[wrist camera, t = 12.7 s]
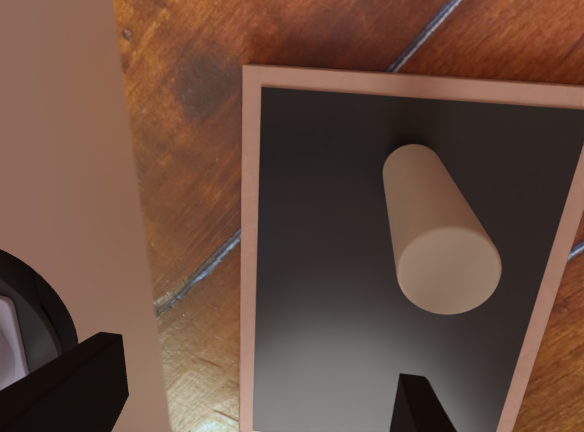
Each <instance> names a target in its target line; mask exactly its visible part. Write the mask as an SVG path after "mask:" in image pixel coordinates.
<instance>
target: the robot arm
mask: <svg viewBox="0 0 584 432" xmlns="http://www.w3.org/2000/svg"><path fill="white" fill-rule="evenodd" d="M128 396H129V392H128V384H127V375H126V365H125V357H124V348H123V340H122V335H121V334H113V333H106V332H99V333H97V334H95V335H93V336H92V337H90V338H88V339H86V340H85V341H83V342H81V343H80V344H78V345H76V346H75V347H73V348H71V349H70V350H68V351H66V352H65V353H63V354H61V355H60V356H58V357H57V358H55V359H53V360H52V361H50V362H48V363H47V364H45V365H43V366H42V367H40V368H38V369H37V370H35V371H33V372H32V373H30V374H29V370H28V366H27V361H26V356H25V352H24V347H23V342H22V338H21V333H20V329H19V324H18V319H17V315H16V310H15V305H14V303H13V301H12V300H11V299H10V298H9V297H6V296H1V295H0V432H111V431H112V429H113V427H114V425H115V423H116V421H117V419H118V417H119V415H120V413H121V411H122V409H123V407H124V404H125V402H126V400H127V398H128ZM389 432H457V431H456V429H455V427H454V426H453V424H452V422H451V420H450V419H449V417H448V415H447V413H446V412H445V410H444V408H443V406H442V405H441V403H440V401H439V399H438V397H437V395H436V394H435V392H434V390H433V388H432V386H431V384H430V382H429V380H428V379H427V378H426V377H425V376H419V375H411V374H404V373H400V374H399V380H398V386H397V391H396V397H395V402H394V408H393V414H392V419H391V425H390V431H389Z"/></svg>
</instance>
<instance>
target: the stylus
mask: <svg viewBox="0 0 584 432" xmlns="http://www.w3.org/2000/svg"><path fill="white" fill-rule="evenodd" d="M383 181H384V188H385V195H386V203H387V210H388V217H389V224H390V231H391V238H392V245H393V252H394V259H395V266H396V273H397V279H398V283H399V285H400V288H401V290H402V291H403V293H404V294H405V296H406V297H407V298H408V299H409V300H410V301H411V302H412V303H414V304H415V305H417V306H418V307H420V308H422V309H424V310H426V311H429V312H432V313H437V314H458V313H462V312H466V311H469V310H471V309H473V308H475V307H477V306H479V305H480V304H482V303H483V302H484V301H486V300H487V299H488V298H489V297H490V296H491V295H492V293H493V292H494V290H495V289H496V287H497V285H498V282H499V279H500V276H501V259H500V255H499V253H498V251H497V249H496V247H495V245H494V244H493V242H492V241H491V239H490V238H489V236H488V234H487V233H486V231H485V230H484V228H483V227H482V225H481V223H480V222H479V220H478V219H477V217H476V216H475V214H474V212H473V211H472V209H471V208H470V206H469V204H468V203H467V201H466V200H465V198H464V197H463V195H462V193H461V192H460V190H459V189H458V187H457V186H456V184H455V182H454V181H453V179H452V178H451V176H450V175H449V173H448V171H447V170H446V168H445V167H444V165H443V164H442V162H441V160H440V159H439V157H438V156H437V154H436V153H435V152H434V151H432V150H431V149H430V148H428V147H426V146H423V145H418V144H410V145H405V146H402V147H400V148H398V149H396V150H395V151H394V152H393V153H391V154H390V156H389V157H388V158H387V160H386V162H385V164H384V167H383Z"/></svg>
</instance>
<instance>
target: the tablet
mask: <svg viewBox="0 0 584 432" xmlns="http://www.w3.org/2000/svg"><path fill="white" fill-rule="evenodd" d="M410 144H418V145H423V146H426V147H428V148H430V149H431V150H432V151H434V152H435V153H436V154H437V156H438V157H439V159H440V160H441V162H442V164H443V165H444V167H445V168H446V170H447V171H448V173H449V175H450V176H451V178H452V179H453V181H454V182H455V184H456V186H457V187H458V189H459V190H460V192H461V193H462V195H463V197H464V198H465V200H466V201H467V203H468V204H469V206H470V208H471V209H472V211H473V212H474V214H475V216H476V217H477V219H478V220H479V222H480V223H481V225H482V227H483V228H484V230H485V231H486V233H487V234H488V236H489V238H490V239H491V241H492V242H493V244H494V245H495V247H496V249H497V251H498V253H499V255H500V259H501V276H500V279H499V282H498V285H497V287H496V289H495V290H494V292H493V293H492V295H491V296H490V297H489V298H488V299H487V300H486V301H484V302H483V303H482V304H480V305H479V306H477V307H475V308H473V309H471V310H469V311H466V312H462V313H458V314H437V313H432V312H429V311H426V310H424V309H422V308H420V307H418V306H417V305H415V304H414V303H412V302H411V301H410V300H409V299H408V298H407V297H406V296H405V294H404V293H403V291H402V290H401V288H400V285H399V283H398V279H397V273H396V266H395V259H394V252H393V245H392V238H391V231H390V224H389V217H388V210H387V203H386V195H385V188H384V181H383V167H384V164H385V162H386V160H387V158H388V157H389V156H390V154H391V153H393V152H394V151H395V150H396V149H398V148H400V147H402V146H405V145H410ZM583 210H584V85H576V84H560V83H545V82H530V81H514V80H499V79H483V78H468V77H453V76H437V75H422V74H407V73H391V72H376V71H360V70H345V69H330V68H314V67H299V66H283V65H268V64H253V63H249V64H244V65H243V95H242V193H241V291H240V389H239V432H389V431H390V425H391V419H392V414H393V408H394V402H395V397H396V391H397V386H398V380H399V374H400V373H404V374H411V375H419V376H425V377H426V378H427V379H428V380H429V382H430V384H431V386H432V388H433V390H434V392H435V394H436V395H437V397H438V399H439V401H440V403H441V405H442V406H443V408H444V410H445V412H446V413H447V415H448V417H449V419H450V420H451V422H452V424H453V426H454V427H455V429H456V431H457V432H512V431H513V428H514V424H515V421H516V418H517V415H518V412H519V409H520V406H521V403H522V400H523V397H524V393H525V390H526V387H527V384H528V381H529V378H530V375H531V372H532V369H533V366H534V362H535V359H536V356H537V353H538V350H539V347H540V344H541V341H542V338H543V334H544V331H545V328H546V325H547V322H548V319H549V316H550V313H551V310H552V307H553V303H554V300H555V297H556V294H557V291H558V288H559V285H560V282H561V279H562V276H563V272H564V269H565V266H566V263H567V260H568V257H569V254H570V251H571V248H572V245H573V241H574V238H575V235H576V232H577V229H578V226H579V223H580V220H581V217H582V214H583Z"/></svg>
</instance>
